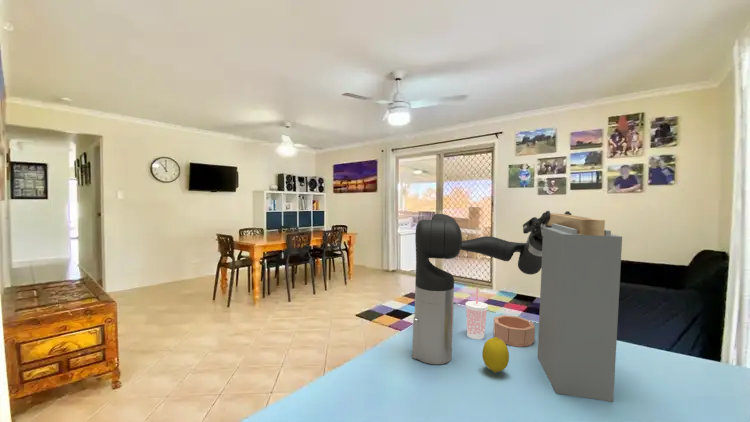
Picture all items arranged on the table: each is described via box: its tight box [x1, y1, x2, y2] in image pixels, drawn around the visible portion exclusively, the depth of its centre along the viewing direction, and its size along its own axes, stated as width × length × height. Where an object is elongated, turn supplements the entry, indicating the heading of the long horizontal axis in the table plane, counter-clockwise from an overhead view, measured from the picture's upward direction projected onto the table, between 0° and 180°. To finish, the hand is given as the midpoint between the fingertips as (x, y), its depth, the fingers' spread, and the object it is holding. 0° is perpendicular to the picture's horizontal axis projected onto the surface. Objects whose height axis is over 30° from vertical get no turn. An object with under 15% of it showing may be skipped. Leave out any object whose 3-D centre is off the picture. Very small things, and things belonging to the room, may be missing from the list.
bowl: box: [492, 314, 536, 348], centre depth 90 cm, size 10×10×5 cm
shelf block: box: [537, 224, 623, 403], centre depth 71 cm, size 10×15×33 cm, turn 166°
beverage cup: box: [465, 286, 489, 340], centre depth 91 cm, size 6×6×14 cm
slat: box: [545, 212, 606, 236], centre depth 75 cm, size 4×26×3 cm, turn 166°
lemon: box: [481, 336, 510, 374], centre depth 73 cm, size 6×6×8 cm
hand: (558, 214), depth 83 cm, fingers closed on slat, 4 cm apart
